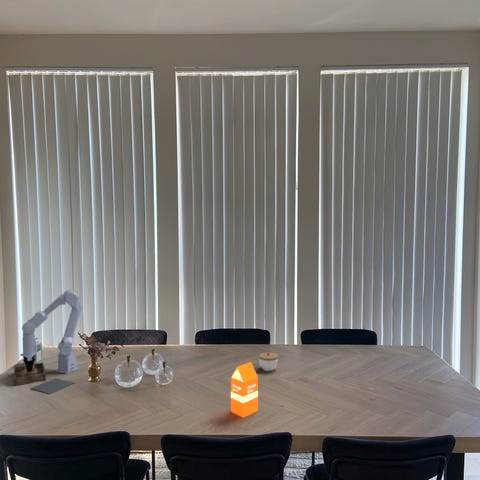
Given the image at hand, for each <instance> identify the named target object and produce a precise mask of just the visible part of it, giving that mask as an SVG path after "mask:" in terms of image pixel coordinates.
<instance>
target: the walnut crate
mask: <svg viewBox="0 0 480 480" xmlns="http://www.w3.org/2000/svg"><path fill="white" fill-rule="evenodd" d="M46 375H47V373H46V370H45V365H44V362H43V361H42V362H41V363H36V364H34V372H31V373H25V364H24V365H18V366H13V381H14V383H13V386H14V387H15V386H21V385H28V384H32V383H33V384H34V383H37V382H43V381H46Z"/></svg>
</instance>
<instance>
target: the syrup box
mask: <svg viewBox="0 0 480 480" xmlns="http://www.w3.org/2000/svg"><path fill="white" fill-rule="evenodd" d="M42 344H43V343H42V337H35V352H36V354H35V357H34V358H36V359H35V361H34V364H36V363H42V362H43V352H42V351H43V350H42V349H43V347H42Z"/></svg>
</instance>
